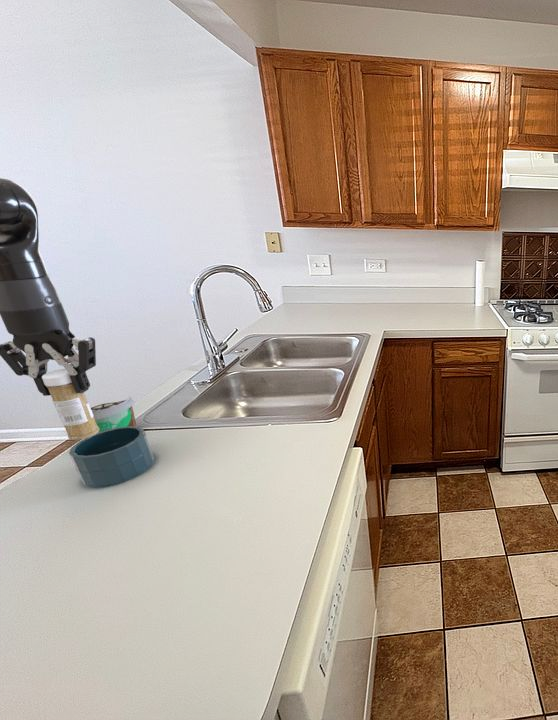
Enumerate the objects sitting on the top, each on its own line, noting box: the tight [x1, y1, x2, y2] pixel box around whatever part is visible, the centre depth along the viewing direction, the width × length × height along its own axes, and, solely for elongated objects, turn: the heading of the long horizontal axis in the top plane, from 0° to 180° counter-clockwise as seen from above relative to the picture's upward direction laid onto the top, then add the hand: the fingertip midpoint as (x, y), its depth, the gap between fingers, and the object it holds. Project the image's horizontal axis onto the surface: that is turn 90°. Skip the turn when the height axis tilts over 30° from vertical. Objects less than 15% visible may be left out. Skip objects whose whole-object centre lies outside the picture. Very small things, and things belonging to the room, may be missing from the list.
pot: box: [68, 426, 155, 489], centre depth 91 cm, size 13×13×8 cm
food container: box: [90, 395, 138, 434], centre depth 102 cm, size 12×6×10 cm, turn 129°
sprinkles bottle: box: [42, 368, 99, 441], centre depth 75 cm, size 5×5×13 cm
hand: (66, 392), depth 74 cm, fingers closed on sprinkles bottle, 4 cm apart
